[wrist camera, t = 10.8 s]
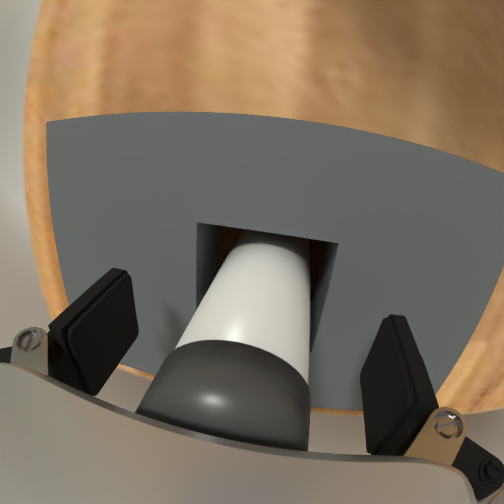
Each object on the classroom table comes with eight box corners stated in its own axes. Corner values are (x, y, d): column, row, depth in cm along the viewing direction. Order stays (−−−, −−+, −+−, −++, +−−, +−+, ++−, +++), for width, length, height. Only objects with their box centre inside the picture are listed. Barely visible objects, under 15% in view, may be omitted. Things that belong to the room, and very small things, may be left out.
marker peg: (327, 245, 16) (346, 460, 5) (280, 296, 18) (240, 496, 7) (264, 197, 15) (170, 373, 5) (221, 255, 17) (114, 435, 6)
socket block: (479, 165, 12) (526, 183, 8) (409, 363, 18) (423, 411, 14) (99, 116, 15) (46, 122, 11) (114, 312, 21) (82, 349, 17)
